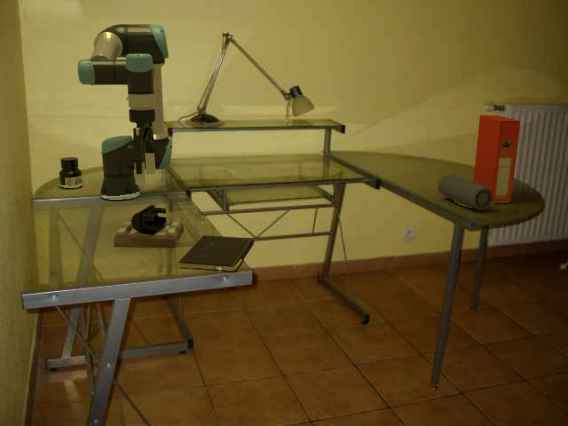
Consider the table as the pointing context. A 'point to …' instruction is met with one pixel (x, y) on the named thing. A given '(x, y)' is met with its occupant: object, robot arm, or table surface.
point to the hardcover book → (217, 252)
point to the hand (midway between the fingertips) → (145, 178)
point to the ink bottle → (70, 172)
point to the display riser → (149, 236)
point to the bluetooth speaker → (465, 192)
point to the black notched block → (149, 220)
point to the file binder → (496, 155)
